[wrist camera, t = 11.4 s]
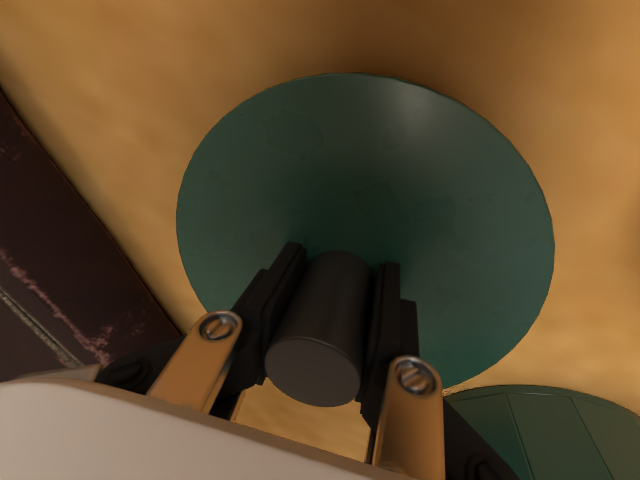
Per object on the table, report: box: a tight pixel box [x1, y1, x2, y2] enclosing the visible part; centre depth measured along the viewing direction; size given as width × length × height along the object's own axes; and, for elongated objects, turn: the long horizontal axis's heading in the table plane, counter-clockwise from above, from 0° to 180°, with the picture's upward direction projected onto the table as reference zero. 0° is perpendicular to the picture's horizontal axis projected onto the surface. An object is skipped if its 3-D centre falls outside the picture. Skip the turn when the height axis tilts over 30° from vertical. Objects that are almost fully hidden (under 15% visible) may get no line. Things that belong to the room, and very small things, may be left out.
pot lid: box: [176, 72, 555, 407], centre depth 11 cm, size 15×15×6 cm
